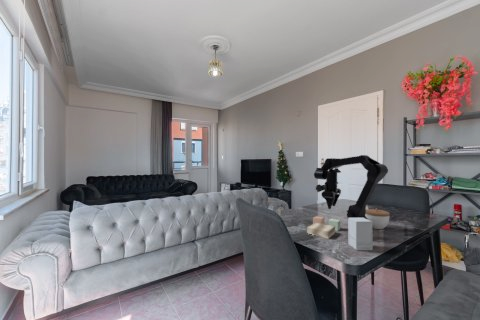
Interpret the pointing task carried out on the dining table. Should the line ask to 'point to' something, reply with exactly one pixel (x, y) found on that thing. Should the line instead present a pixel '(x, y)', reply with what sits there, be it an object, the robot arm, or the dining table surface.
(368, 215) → the lidded bowl
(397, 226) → the dining table surface
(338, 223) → the sage cube
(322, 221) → the clay cube
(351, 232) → the supplement box
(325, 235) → the birch block
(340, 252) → the dining table surface
